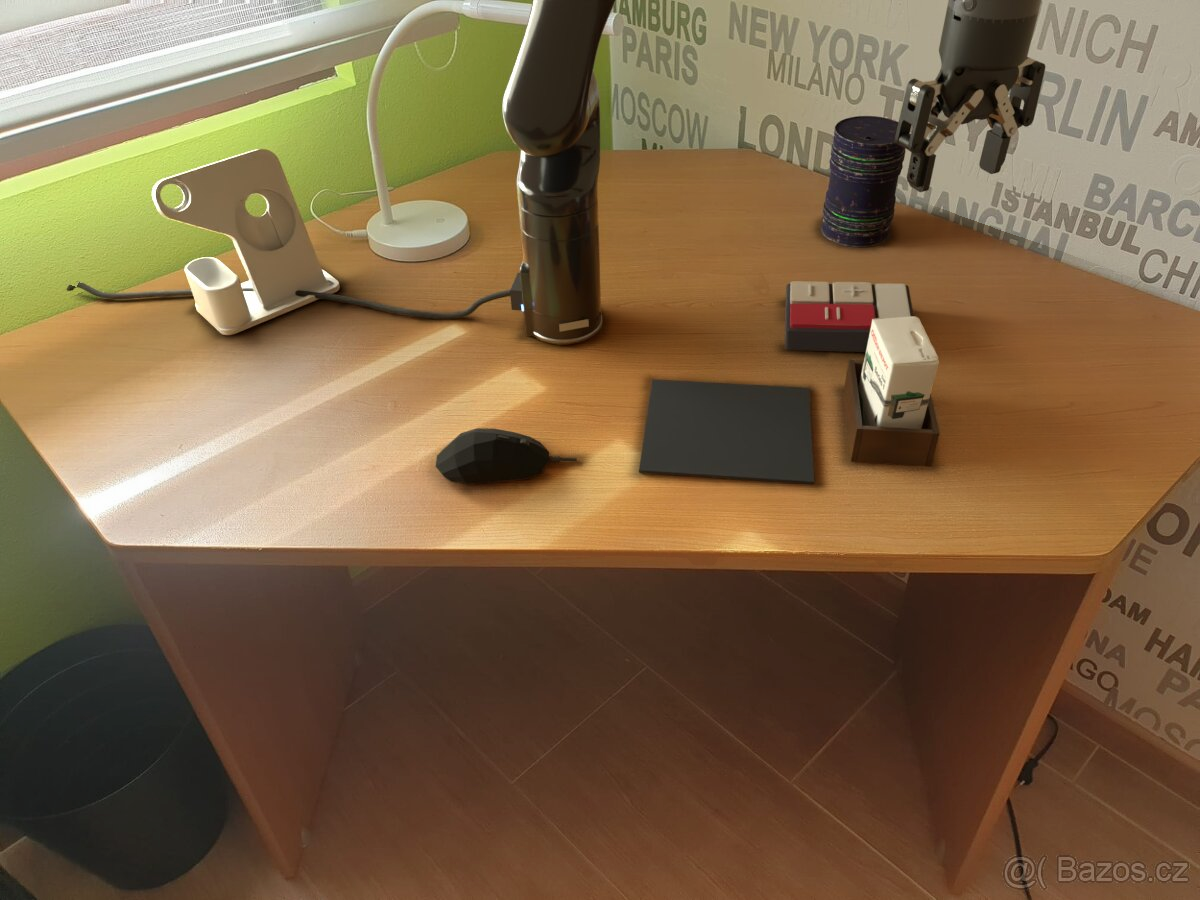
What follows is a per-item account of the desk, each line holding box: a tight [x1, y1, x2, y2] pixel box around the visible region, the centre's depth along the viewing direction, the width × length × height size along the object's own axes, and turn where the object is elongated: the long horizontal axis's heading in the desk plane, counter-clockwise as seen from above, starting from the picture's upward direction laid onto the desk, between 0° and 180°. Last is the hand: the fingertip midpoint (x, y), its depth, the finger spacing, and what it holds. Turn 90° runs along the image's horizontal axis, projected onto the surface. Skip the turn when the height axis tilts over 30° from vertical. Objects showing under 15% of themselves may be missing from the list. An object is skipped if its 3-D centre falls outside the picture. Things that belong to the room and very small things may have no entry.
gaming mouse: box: [435, 427, 578, 485], centre depth 100 cm, size 6×15×4 cm, turn 93°
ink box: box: [858, 316, 940, 429], centre depth 100 cm, size 9×5×12 cm, turn 2°
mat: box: [638, 378, 816, 485], centre depth 104 cm, size 18×16×1 cm
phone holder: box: [151, 148, 341, 336], centre depth 122 cm, size 17×10×18 cm, turn 131°
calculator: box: [784, 280, 915, 353], centre depth 117 cm, size 11×4×15 cm
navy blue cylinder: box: [820, 115, 907, 248], centre depth 133 cm, size 10×10×15 cm
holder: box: [842, 359, 941, 467], centre depth 103 cm, size 8×12×4 cm
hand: (953, 179), depth 93 cm, fingers open, 8 cm apart
